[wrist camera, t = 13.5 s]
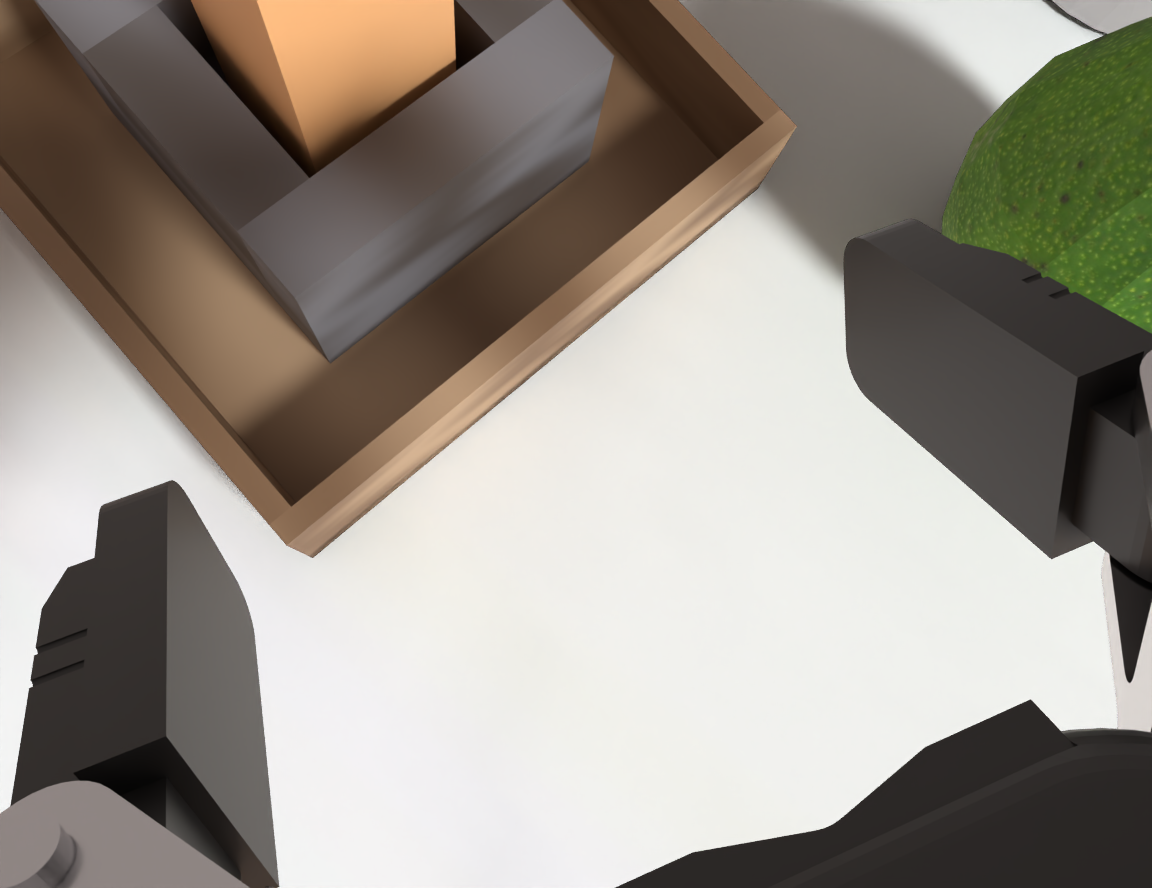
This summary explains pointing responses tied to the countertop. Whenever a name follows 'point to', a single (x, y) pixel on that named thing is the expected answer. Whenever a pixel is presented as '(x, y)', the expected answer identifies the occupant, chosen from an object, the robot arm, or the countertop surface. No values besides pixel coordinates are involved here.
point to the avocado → (1070, 174)
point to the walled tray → (433, 347)
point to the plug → (329, 65)
